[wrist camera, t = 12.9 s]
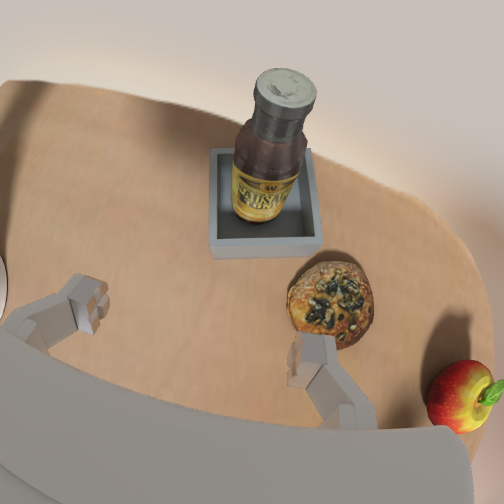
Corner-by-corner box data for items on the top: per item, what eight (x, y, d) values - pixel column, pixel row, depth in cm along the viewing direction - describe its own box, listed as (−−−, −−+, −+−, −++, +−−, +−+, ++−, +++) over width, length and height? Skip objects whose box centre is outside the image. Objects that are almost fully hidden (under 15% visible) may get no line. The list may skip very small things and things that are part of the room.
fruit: (412, 374, 32) (458, 384, 22) (464, 346, 33) (509, 347, 23) (417, 437, 30) (457, 458, 20) (467, 406, 31) (509, 416, 21)
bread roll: (358, 359, 32) (371, 361, 28) (274, 336, 34) (274, 335, 30) (379, 276, 36) (393, 266, 31) (300, 253, 37) (304, 239, 33)
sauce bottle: (231, 228, 34) (227, 120, 15) (230, 181, 36) (227, 57, 17) (286, 227, 35) (338, 124, 16) (282, 180, 36) (319, 61, 17)
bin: (213, 259, 35) (208, 247, 29) (213, 173, 37) (210, 148, 31) (309, 256, 35) (323, 244, 29) (300, 172, 38) (310, 148, 32)
